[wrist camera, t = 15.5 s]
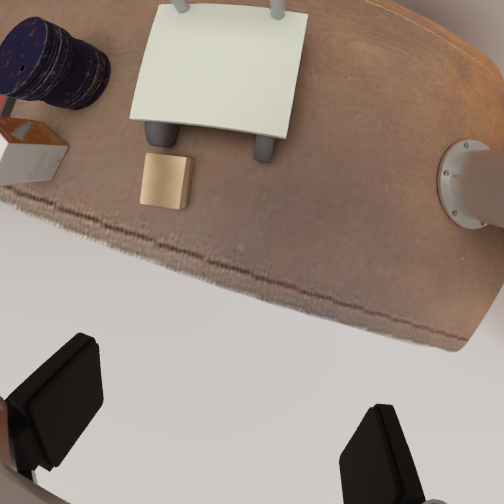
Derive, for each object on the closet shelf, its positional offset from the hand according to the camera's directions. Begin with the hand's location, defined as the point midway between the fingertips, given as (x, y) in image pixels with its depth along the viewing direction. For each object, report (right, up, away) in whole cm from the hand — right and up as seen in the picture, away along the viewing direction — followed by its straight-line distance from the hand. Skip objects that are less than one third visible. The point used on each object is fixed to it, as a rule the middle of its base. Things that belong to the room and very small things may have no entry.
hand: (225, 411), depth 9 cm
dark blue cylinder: (-24, +30, +26) cm, 46 cm away
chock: (-9, +14, +29) cm, 33 cm away
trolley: (-2, +26, +25) cm, 36 cm away
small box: (-30, +21, +29) cm, 47 cm away
